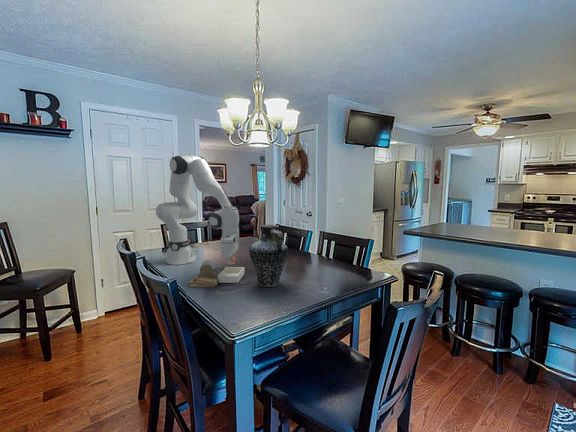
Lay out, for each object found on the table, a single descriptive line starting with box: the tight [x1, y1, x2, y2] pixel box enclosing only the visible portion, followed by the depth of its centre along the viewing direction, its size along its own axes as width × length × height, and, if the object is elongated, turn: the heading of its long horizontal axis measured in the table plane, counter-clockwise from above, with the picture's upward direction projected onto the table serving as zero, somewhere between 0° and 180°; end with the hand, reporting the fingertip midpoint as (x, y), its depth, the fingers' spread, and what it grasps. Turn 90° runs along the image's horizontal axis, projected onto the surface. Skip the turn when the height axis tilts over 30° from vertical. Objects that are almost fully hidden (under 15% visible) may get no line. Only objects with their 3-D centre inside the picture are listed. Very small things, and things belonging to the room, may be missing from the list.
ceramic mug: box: [199, 259, 221, 275], centre depth 165 cm, size 11×8×8 cm
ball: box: [225, 256, 237, 266], centre depth 160 cm, size 5×5×5 cm
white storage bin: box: [217, 266, 245, 284], centre depth 161 cm, size 16×10×4 cm, turn 176°
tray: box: [187, 274, 220, 289], centre depth 153 cm, size 13×13×2 cm
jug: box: [248, 224, 289, 288], centre depth 149 cm, size 21×19×30 cm
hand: (230, 261), depth 160 cm, fingers closed on ball, 5 cm apart
